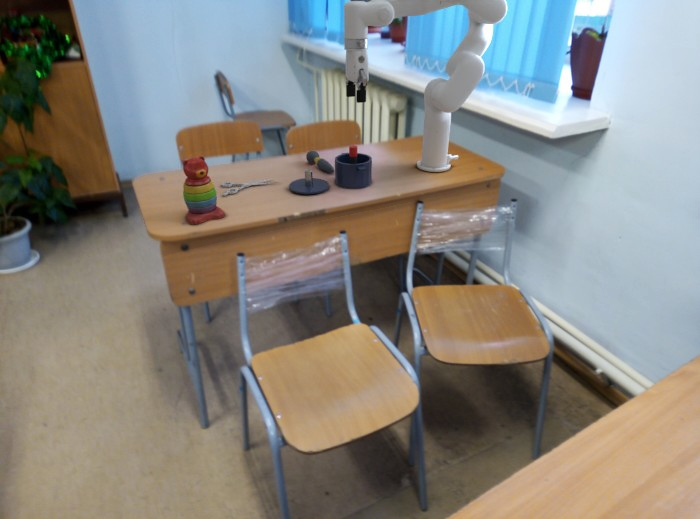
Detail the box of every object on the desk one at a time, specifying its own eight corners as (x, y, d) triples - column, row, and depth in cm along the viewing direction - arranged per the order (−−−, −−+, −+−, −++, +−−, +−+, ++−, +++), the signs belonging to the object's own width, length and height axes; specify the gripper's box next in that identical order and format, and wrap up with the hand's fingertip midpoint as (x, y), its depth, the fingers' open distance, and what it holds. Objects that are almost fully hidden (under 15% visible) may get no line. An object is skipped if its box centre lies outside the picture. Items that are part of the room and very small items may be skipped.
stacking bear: (192, 226, 138) (180, 166, 129) (180, 214, 145) (169, 157, 136) (227, 217, 143) (219, 159, 134) (214, 205, 151) (206, 150, 142)
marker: (355, 178, 169) (355, 144, 163) (358, 181, 167) (358, 147, 161) (348, 179, 168) (347, 145, 162) (350, 182, 166) (350, 148, 160)
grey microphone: (341, 172, 176) (341, 159, 174) (330, 175, 174) (330, 162, 171) (311, 159, 190) (311, 147, 187) (301, 162, 187) (300, 149, 185)
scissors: (216, 183, 165) (272, 174, 172) (216, 185, 165) (272, 176, 173) (223, 194, 157) (281, 184, 164) (223, 196, 157) (281, 186, 164)
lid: (322, 179, 171) (321, 162, 168) (334, 192, 160) (334, 174, 157) (285, 184, 167) (283, 166, 164) (295, 198, 156) (293, 180, 153)
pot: (360, 171, 177) (360, 149, 173) (380, 188, 163) (380, 164, 158) (328, 175, 173) (327, 153, 169) (345, 193, 159) (344, 169, 155)
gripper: (377, 46, 148) (376, 103, 157) (357, 41, 162) (357, 93, 171) (354, 48, 146) (354, 105, 154) (336, 42, 160) (337, 95, 168)
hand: (355, 99), depth 162 cm, fingers open, 9 cm apart
